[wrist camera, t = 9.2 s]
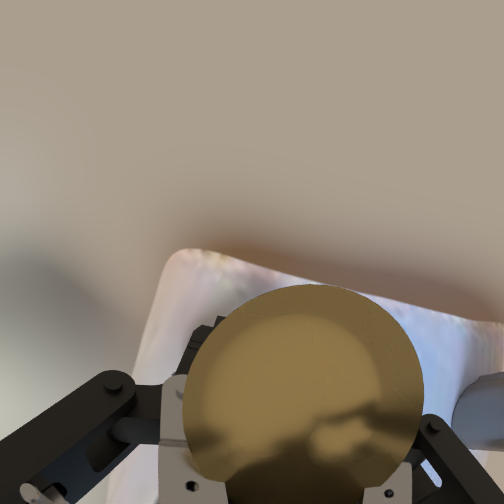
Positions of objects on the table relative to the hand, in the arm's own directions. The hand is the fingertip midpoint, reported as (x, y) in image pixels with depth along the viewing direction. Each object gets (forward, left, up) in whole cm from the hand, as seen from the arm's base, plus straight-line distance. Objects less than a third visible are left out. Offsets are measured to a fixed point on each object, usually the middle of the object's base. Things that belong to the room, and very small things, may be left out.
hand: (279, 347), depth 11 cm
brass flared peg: (+1, +1, -5) cm, 5 cm away
